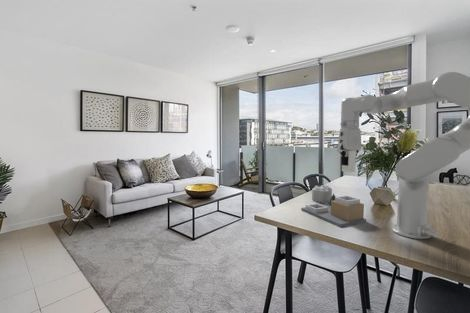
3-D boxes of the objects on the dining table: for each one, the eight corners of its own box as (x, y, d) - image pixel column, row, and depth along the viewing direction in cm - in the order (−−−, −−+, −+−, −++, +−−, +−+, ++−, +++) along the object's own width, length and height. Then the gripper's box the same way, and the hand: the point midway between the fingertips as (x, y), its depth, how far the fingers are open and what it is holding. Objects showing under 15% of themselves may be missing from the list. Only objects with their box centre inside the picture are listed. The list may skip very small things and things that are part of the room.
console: (366, 221, 108) (367, 200, 108) (340, 227, 102) (340, 204, 101) (324, 206, 132) (324, 189, 131) (301, 210, 126) (301, 191, 125)
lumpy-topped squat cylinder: (309, 200, 145) (310, 186, 144) (318, 196, 155) (319, 183, 154) (326, 203, 138) (327, 189, 137) (334, 199, 148) (335, 185, 147)
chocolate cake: (349, 212, 123) (348, 193, 130) (336, 208, 123) (336, 189, 131) (340, 220, 131) (340, 201, 138) (328, 216, 131) (328, 197, 138)
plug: (355, 171, 109) (355, 150, 109) (348, 172, 108) (349, 150, 107) (346, 170, 114) (347, 149, 113) (340, 171, 112) (340, 150, 111)
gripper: (342, 124, 102) (341, 166, 104) (369, 125, 109) (368, 164, 110) (329, 125, 109) (328, 165, 110) (355, 126, 115) (354, 163, 117)
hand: (348, 164), depth 110 cm, fingers closed on plug, 4 cm apart
